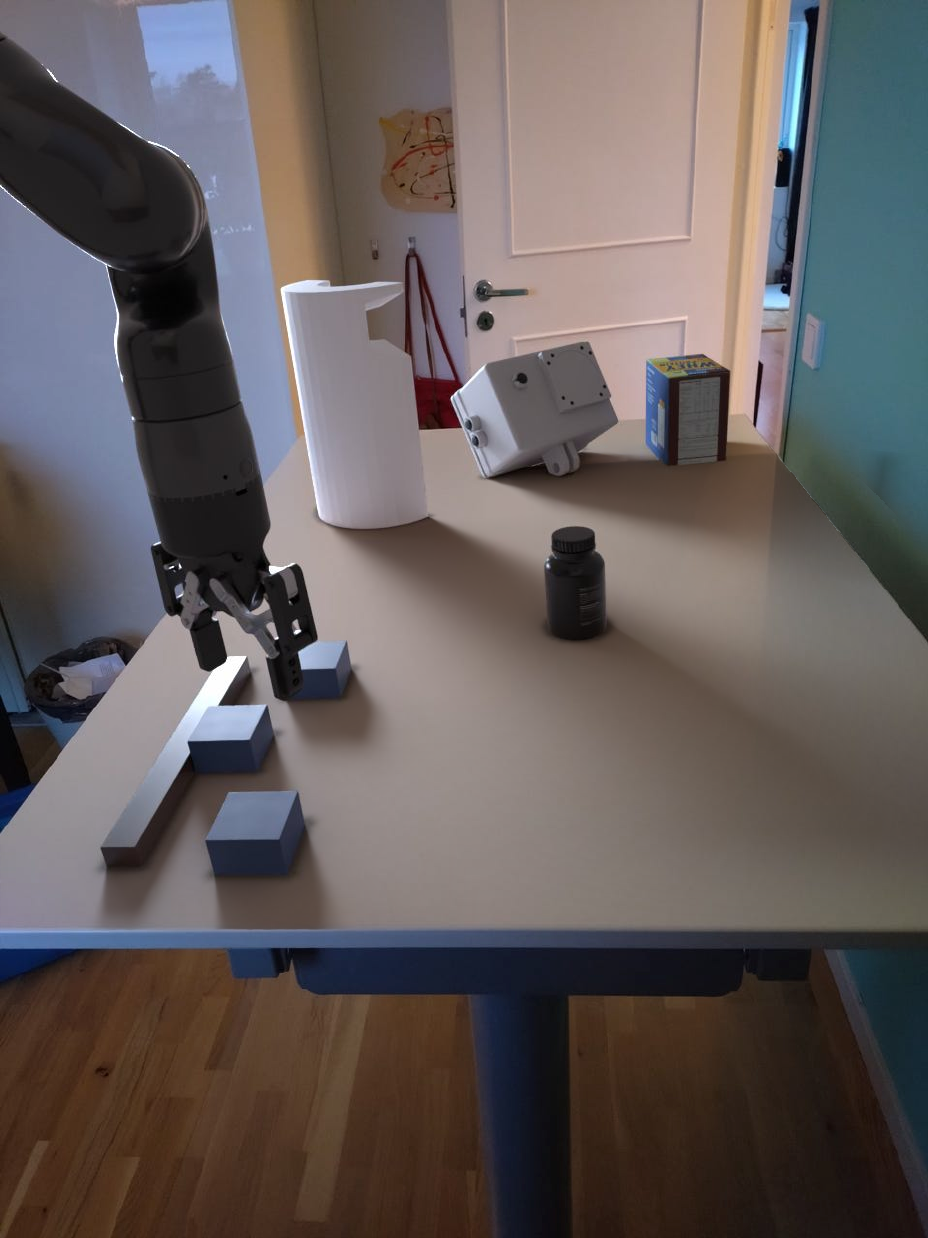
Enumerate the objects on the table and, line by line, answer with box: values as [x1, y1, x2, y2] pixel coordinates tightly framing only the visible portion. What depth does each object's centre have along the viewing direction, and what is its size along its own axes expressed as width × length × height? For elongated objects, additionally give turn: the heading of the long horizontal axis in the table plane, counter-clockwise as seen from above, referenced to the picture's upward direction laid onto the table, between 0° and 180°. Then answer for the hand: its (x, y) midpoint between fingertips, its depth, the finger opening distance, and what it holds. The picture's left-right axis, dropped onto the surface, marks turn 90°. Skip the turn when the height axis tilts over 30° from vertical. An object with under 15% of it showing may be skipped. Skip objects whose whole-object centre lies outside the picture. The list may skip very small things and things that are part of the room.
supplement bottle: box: [543, 525, 608, 641], centre depth 101 cm, size 7×7×12 cm
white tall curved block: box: [280, 279, 429, 530], centre depth 136 cm, size 35×11×21 cm
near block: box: [204, 790, 306, 876], centre depth 73 cm, size 6×6×4 cm
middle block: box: [187, 704, 275, 774], centre depth 86 cm, size 6×6×4 cm
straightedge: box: [99, 655, 252, 868], centre depth 86 cm, size 3×31×2 cm, turn 175°
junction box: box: [450, 341, 619, 479], centre depth 153 cm, size 24×15×22 cm
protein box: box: [645, 353, 731, 467], centre depth 155 cm, size 10×15×16 cm
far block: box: [289, 640, 352, 700], centre depth 96 cm, size 6×6×4 cm
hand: (251, 680), depth 68 cm, fingers open, 8 cm apart
